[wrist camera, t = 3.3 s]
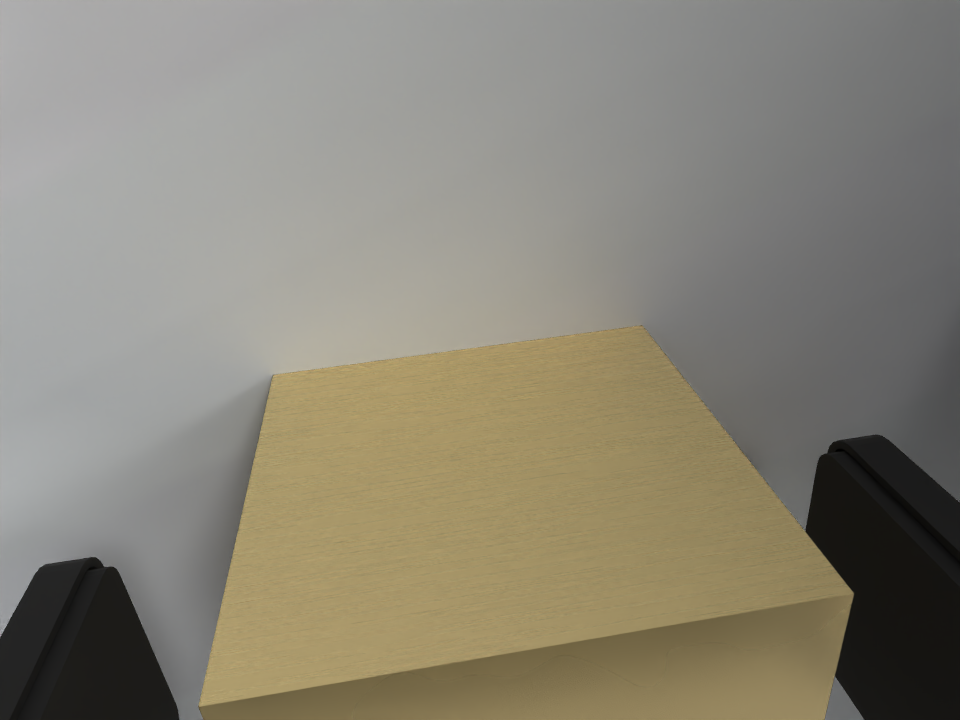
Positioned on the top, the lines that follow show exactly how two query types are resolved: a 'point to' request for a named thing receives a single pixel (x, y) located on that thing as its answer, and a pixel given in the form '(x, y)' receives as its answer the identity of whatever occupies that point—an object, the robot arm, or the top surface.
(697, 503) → the block
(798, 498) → the top surface
